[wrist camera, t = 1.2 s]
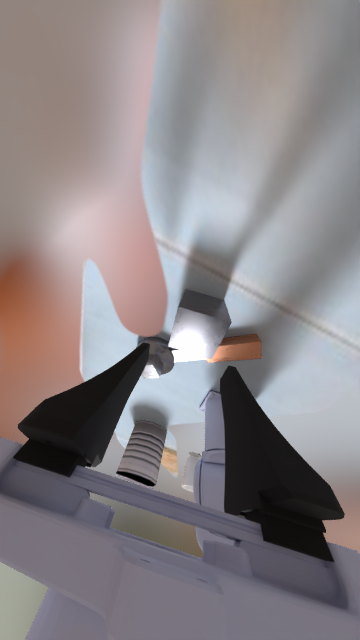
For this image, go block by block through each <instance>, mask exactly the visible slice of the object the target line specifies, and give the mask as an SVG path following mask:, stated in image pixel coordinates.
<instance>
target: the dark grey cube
mask: <svg viewBox="0 0 360 640" xmlns="http://www.w3.org/2000/svg"><path fill="white" fill-rule="evenodd" d="M231 323H232V322H231V319H230V316H229V313H228V310H227V307H226V304H225V301H224V300H221V299H218V298H214V297H211V296H208V295H204V294H201V293H197V292H194V291H190V290H187V289H186V290H185V293H184V295H183V297H182V299H181V302H180V304H179V306H178V310H177V314H176V318H175V321H174V325H173V329H172V333H171V337H170V341H169V345H168V346H169V347H172V348H175V349H179V350H182V351H185V352H189V353H192V354H195V355H199V356H202V357H205V358H208V359H212V358H213V356H214V354H215V352H216V351H217V349H218V347H219V345H220V343H221V341H222V339H223V338H224V336H225V334H226V332H227V330H228V328H229V326H230V325H231Z"/></svg>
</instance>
